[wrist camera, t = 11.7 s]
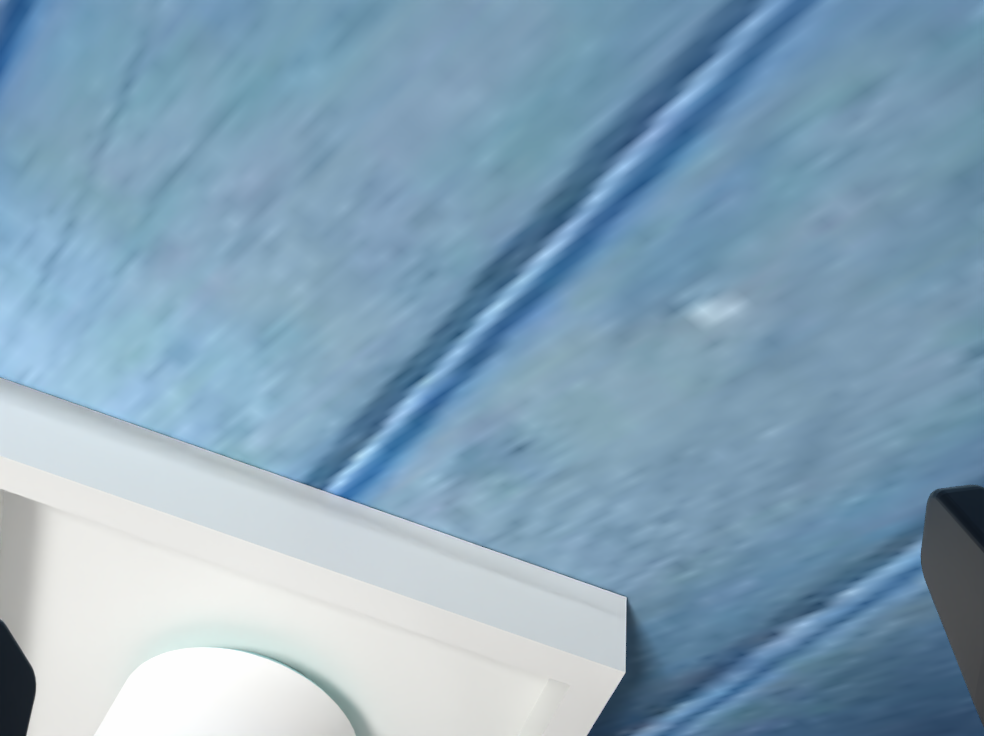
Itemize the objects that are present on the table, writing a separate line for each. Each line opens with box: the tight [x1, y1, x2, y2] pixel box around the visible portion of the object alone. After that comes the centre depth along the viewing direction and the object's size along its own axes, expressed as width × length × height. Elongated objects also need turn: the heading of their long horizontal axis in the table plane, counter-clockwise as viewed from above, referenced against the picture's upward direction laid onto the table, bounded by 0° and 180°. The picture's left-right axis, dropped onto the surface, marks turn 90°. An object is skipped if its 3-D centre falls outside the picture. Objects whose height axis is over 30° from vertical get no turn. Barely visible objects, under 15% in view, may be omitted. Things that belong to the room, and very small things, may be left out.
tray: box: [0, 378, 627, 736], centre depth 27 cm, size 17×17×2 cm
